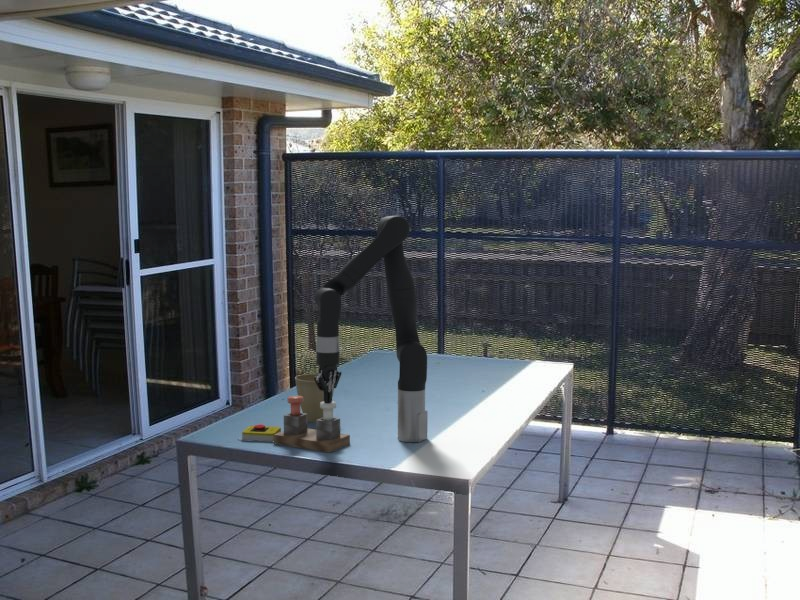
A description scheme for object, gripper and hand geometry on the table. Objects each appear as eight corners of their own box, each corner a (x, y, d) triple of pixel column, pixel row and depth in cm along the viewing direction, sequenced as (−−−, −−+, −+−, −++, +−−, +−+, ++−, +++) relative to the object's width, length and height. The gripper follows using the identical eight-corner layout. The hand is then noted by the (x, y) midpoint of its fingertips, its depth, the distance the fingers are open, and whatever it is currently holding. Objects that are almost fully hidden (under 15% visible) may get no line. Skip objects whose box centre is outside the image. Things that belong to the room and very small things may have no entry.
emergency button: (245, 421, 279) (287, 423, 277) (245, 434, 280) (288, 436, 278) (236, 428, 270) (280, 430, 268) (237, 441, 270) (280, 443, 268)
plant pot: (325, 426, 288) (325, 382, 287) (288, 422, 294) (287, 379, 292) (342, 416, 302) (342, 375, 301) (306, 413, 308) (306, 372, 306)
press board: (349, 443, 266) (349, 416, 265) (329, 452, 256) (329, 425, 255) (295, 435, 277) (295, 409, 276) (273, 443, 266) (273, 416, 265)
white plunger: (339, 422, 263) (339, 402, 263) (330, 426, 259) (330, 405, 258) (326, 420, 266) (325, 400, 265) (317, 424, 261) (316, 403, 261)
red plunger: (306, 416, 270) (306, 396, 269) (297, 420, 265) (297, 399, 264) (293, 414, 272) (293, 395, 271) (284, 418, 268) (284, 398, 267)
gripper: (326, 353, 252) (326, 408, 254) (348, 348, 264) (348, 400, 266) (306, 351, 256) (306, 405, 258) (329, 346, 268) (329, 397, 269)
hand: (328, 402), depth 262 cm, fingers closed
